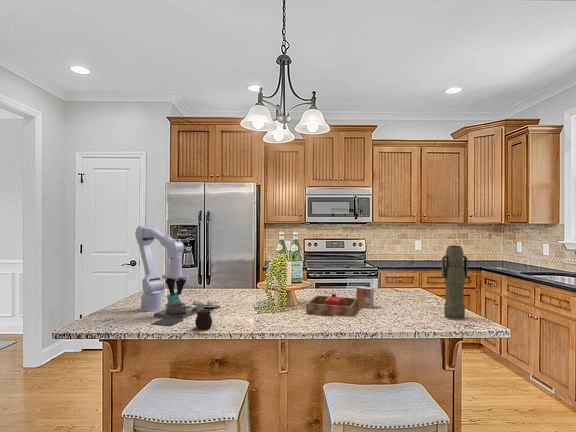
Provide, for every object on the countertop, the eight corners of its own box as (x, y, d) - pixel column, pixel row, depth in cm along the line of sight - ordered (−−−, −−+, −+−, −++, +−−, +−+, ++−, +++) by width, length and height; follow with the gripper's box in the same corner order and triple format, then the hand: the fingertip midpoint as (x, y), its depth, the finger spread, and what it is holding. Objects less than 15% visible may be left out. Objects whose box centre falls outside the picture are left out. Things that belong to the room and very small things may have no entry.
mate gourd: (197, 326, 167) (197, 303, 167) (214, 326, 167) (214, 303, 167) (193, 331, 160) (193, 307, 160) (210, 331, 160) (211, 307, 160)
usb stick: (170, 310, 184) (166, 297, 183) (169, 308, 187) (165, 296, 185) (182, 306, 187) (178, 293, 185) (181, 304, 189) (177, 291, 187)
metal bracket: (214, 300, 191) (185, 300, 193) (213, 312, 190) (184, 311, 191) (222, 302, 205) (194, 302, 207) (221, 314, 203) (193, 313, 205)
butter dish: (328, 306, 208) (328, 290, 208) (348, 308, 202) (348, 292, 202) (319, 310, 198) (319, 294, 198) (339, 313, 192) (339, 296, 192)
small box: (356, 307, 205) (356, 287, 205) (359, 305, 210) (359, 286, 210) (370, 309, 201) (370, 289, 201) (373, 306, 206) (373, 287, 206)
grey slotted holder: (166, 314, 181) (166, 308, 181) (165, 310, 189) (165, 304, 189) (200, 311, 187) (200, 305, 187) (198, 307, 195) (198, 301, 195)
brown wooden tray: (306, 313, 190) (306, 303, 190) (316, 304, 211) (316, 295, 211) (351, 317, 183) (352, 307, 183) (358, 307, 203) (358, 298, 203)
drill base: (154, 316, 183) (154, 313, 183) (169, 310, 195) (169, 307, 195) (182, 319, 178) (182, 316, 178) (196, 313, 190) (196, 310, 190)
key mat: (151, 324, 170) (151, 323, 170) (165, 319, 179) (165, 318, 179) (170, 326, 166) (170, 325, 166) (183, 321, 176) (183, 319, 176)
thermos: (437, 317, 183) (437, 245, 184) (460, 316, 185) (460, 245, 186) (448, 322, 175) (448, 246, 175) (471, 321, 177) (471, 246, 177)
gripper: (193, 266, 188) (193, 293, 188) (168, 264, 193) (168, 291, 192) (184, 267, 181) (184, 296, 181) (159, 266, 186) (159, 294, 186)
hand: (175, 294), depth 186 cm, fingers closed on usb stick, 4 cm apart
